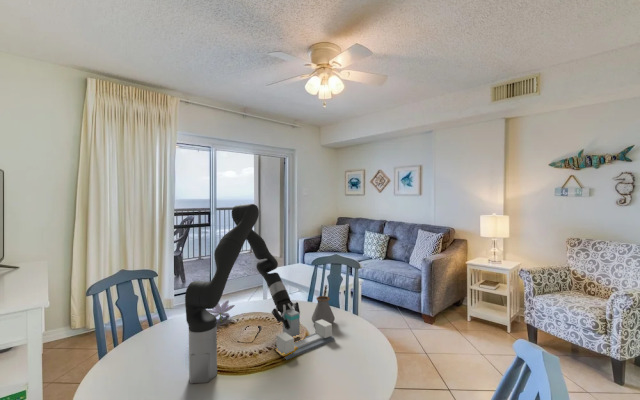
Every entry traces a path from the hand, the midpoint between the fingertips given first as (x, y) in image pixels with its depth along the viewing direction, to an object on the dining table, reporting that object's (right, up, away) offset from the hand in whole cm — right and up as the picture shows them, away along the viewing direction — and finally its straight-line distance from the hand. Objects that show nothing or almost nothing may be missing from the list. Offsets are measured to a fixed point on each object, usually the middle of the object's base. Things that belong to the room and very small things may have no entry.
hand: (293, 327), depth 132 cm
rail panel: (+6, -5, -7) cm, 10 cm away
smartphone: (-21, -6, +4) cm, 21 cm away
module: (-1, -5, +1) cm, 5 cm away
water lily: (-40, -5, +21) cm, 45 cm away
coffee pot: (+14, -5, +19) cm, 24 cm away
